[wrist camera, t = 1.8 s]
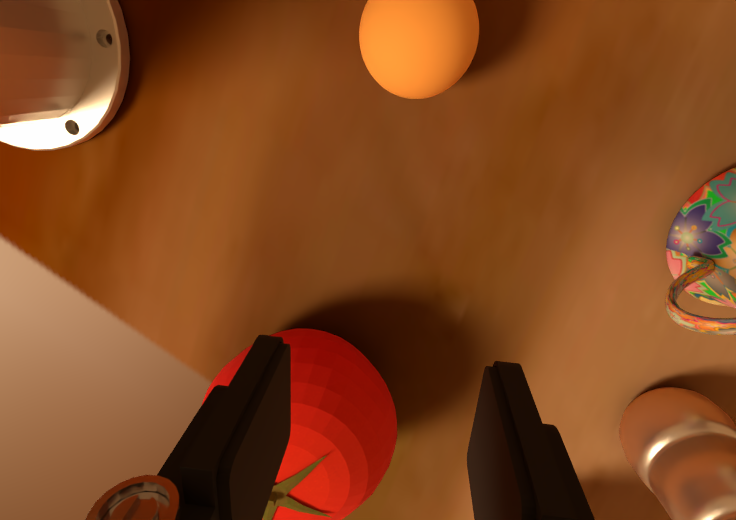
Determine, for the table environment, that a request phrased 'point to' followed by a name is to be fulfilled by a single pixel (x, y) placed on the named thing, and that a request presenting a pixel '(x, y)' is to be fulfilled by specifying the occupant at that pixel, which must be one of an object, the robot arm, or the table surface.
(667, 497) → the plastic bottle
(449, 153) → the table surface
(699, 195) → the mug
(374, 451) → the tomato
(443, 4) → the ball
